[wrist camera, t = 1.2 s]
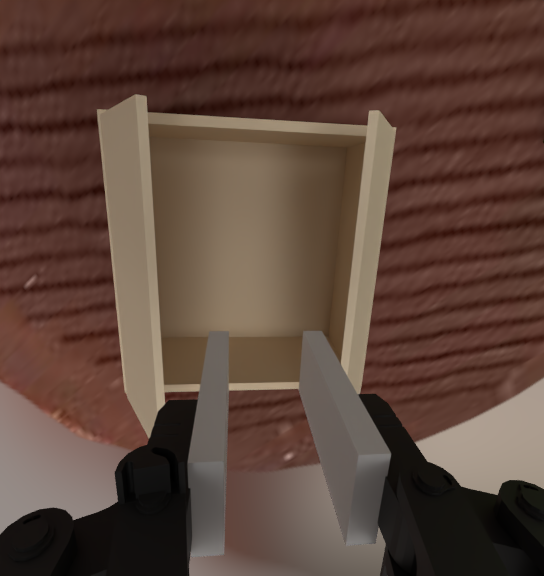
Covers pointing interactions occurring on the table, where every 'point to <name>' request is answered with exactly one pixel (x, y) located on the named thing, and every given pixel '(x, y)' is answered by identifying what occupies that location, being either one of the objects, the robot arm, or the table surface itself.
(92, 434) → the table surface
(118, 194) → the flap
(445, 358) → the table surface
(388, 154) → the flap
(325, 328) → the carton
